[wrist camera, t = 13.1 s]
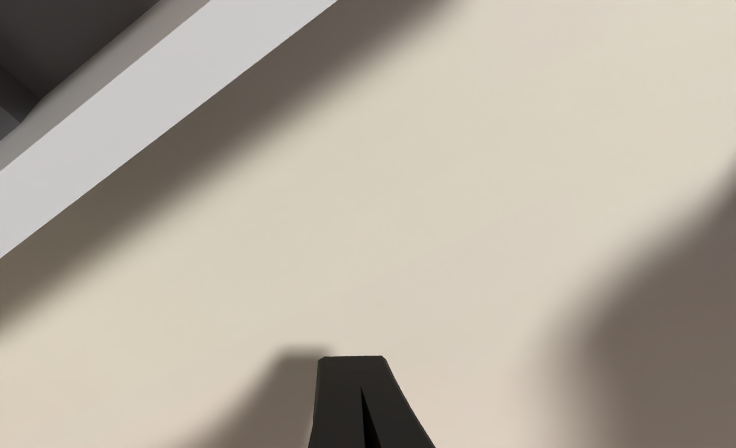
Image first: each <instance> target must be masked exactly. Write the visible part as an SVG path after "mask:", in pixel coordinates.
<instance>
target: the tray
mask: <svg viewBox="0 0 736 448" xmlns="http://www.w3.org/2000/svg"><path fill="white" fill-rule="evenodd" d="M336 1H337V0H0V258H1V257H3V256H4V255H5V254H7V253H8V252H9V251H11V250H12V249H13V248H14V247H16V246H17V245H18V244H20V243H21V242H22V241H24V240H25V239H26V238H28V237H29V236H30V235H31V234H33V233H34V232H35V231H37V230H38V229H39V228H41V227H42V226H43V225H45V224H46V223H47V222H48V221H50V220H51V219H52V218H54V217H55V216H56V215H58V214H59V213H60V212H62V211H63V210H64V209H65V208H67V207H68V206H69V205H71V204H72V203H73V202H75V201H76V200H77V199H79V198H80V197H81V196H82V195H84V194H85V193H86V192H88V191H89V190H90V189H92V188H93V187H94V186H96V185H97V184H98V183H99V182H101V181H102V180H103V179H105V178H106V177H107V176H109V175H110V174H111V173H113V172H114V171H115V170H116V169H118V168H119V167H120V166H122V165H123V164H124V163H126V162H127V161H128V160H129V159H131V158H132V157H133V156H135V155H136V154H137V153H139V152H140V151H141V150H143V149H144V148H145V147H146V146H148V145H149V144H150V143H152V142H153V141H154V140H156V139H157V138H158V137H160V136H161V135H162V134H163V133H165V132H166V131H167V130H169V129H170V128H171V127H173V126H174V125H175V124H177V123H178V122H179V121H180V120H182V119H183V118H184V117H186V116H187V115H188V114H190V113H191V112H192V111H194V110H195V109H196V108H197V107H199V106H200V105H201V104H203V103H204V102H205V101H207V100H208V99H209V98H211V97H212V96H213V95H214V94H216V93H217V92H218V91H220V90H221V89H222V88H224V87H225V86H226V85H227V84H229V83H230V82H231V81H233V80H234V79H235V78H237V77H238V76H239V75H241V74H242V73H243V72H244V71H246V70H247V69H248V68H250V67H251V66H252V65H254V64H255V63H256V62H258V61H259V60H260V59H261V58H263V57H264V56H265V55H267V54H268V53H269V52H271V51H272V50H273V49H275V48H276V47H277V46H278V45H280V44H281V43H282V42H284V41H285V40H286V39H288V38H289V37H290V36H292V35H293V34H294V33H295V32H297V31H298V30H299V29H301V28H302V27H303V26H305V25H306V24H307V23H309V22H310V21H311V20H312V19H314V18H315V17H316V16H318V15H319V14H320V13H322V12H323V11H324V10H325V9H327V8H328V7H329V6H331V5H332V4H333V3H335V2H336Z"/></svg>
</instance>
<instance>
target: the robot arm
mask: <svg viewBox="0 0 736 448" xmlns="http://www.w3.org/2000/svg"><path fill="white" fill-rule="evenodd" d="M308 448H436V447H435V446H434V444H433V443H432V441H431V440H430V438H429V436H428V435H427V433H426V432H425V430H424V428H423V427H422V425H421V424H420V422H419V421H418V419H417V417H416V416H415V414H414V412H413V410H412V409H411V407H410V405H409V403H408V402H407V400H406V398H405V396H404V395H403V393H402V391H401V389H400V387H399V385H398V383H397V381H396V379H395V378H394V376H393V373H392V371H391V369H390V367H389V365H388V363H387V361H386V359H385V358H384V357H383V356H335V357H323V358H322V359H320V360H319V361H318V370H317V381H316V392H315V403H314V414H313V427H312V432H311V436H310V441H309V445H308Z"/></svg>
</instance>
